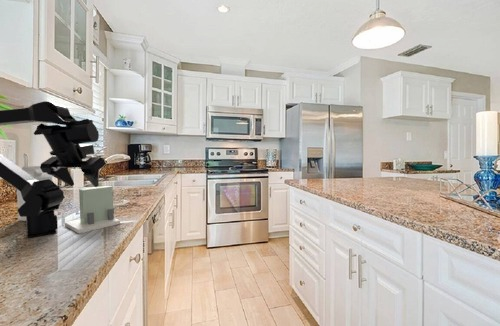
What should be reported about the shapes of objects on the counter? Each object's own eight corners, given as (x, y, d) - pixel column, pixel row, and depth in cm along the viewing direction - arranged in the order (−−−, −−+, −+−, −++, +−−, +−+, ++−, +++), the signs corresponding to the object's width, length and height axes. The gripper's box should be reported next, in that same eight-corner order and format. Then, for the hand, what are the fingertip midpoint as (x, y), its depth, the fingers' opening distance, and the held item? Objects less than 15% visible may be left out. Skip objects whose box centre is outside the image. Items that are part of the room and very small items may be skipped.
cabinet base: (78, 233, 73) (78, 218, 72) (65, 225, 80) (64, 211, 80) (120, 223, 82) (119, 210, 82) (104, 217, 90) (104, 204, 89)
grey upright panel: (83, 224, 78) (82, 190, 77) (80, 222, 80) (79, 189, 79) (114, 217, 85) (113, 186, 85) (110, 216, 87) (109, 185, 86)
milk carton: (18, 220, 86) (15, 166, 85) (40, 215, 93) (38, 165, 91) (32, 222, 84) (29, 167, 83) (54, 216, 90) (51, 165, 89)
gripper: (107, 133, 79) (123, 172, 87) (56, 133, 81) (77, 171, 90) (82, 150, 69) (104, 192, 78) (26, 149, 72) (53, 190, 81)
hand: (84, 185), depth 82 cm, fingers open, 9 cm apart
